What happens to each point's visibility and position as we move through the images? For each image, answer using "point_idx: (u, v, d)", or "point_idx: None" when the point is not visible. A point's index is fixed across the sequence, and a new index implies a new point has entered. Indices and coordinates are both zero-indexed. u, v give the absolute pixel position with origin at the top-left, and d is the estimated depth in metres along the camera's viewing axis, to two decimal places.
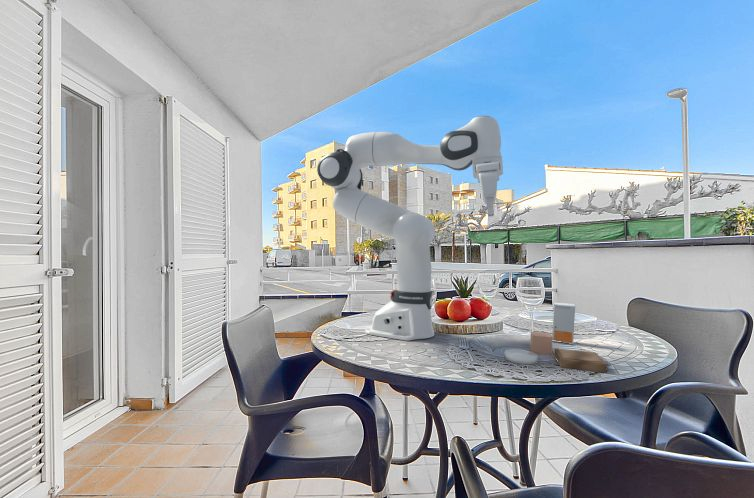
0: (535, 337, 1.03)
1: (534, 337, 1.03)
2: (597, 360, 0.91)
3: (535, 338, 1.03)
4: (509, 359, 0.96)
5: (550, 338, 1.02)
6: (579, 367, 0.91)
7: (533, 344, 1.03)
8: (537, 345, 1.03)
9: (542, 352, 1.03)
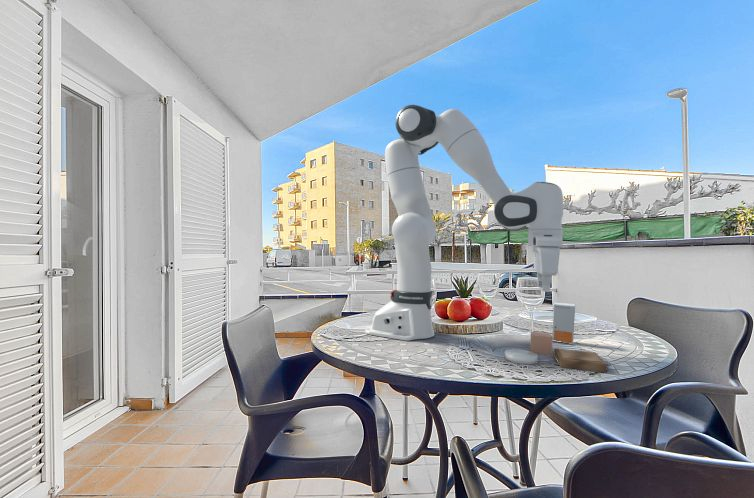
0: (535, 337, 1.03)
1: (534, 337, 1.03)
2: (597, 360, 0.91)
3: (535, 338, 1.03)
4: (509, 359, 0.96)
5: (550, 338, 1.02)
6: (579, 367, 0.91)
7: (533, 344, 1.03)
8: (537, 345, 1.03)
9: (542, 352, 1.03)
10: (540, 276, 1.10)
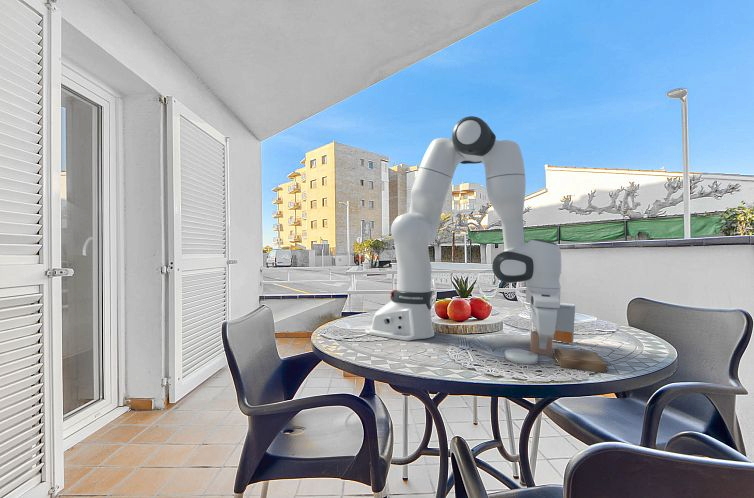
0: (535, 337, 1.03)
1: (534, 337, 1.03)
2: (597, 360, 0.91)
3: (535, 338, 1.03)
4: (509, 359, 0.96)
5: (550, 338, 1.02)
6: (579, 367, 0.91)
7: (533, 344, 1.03)
8: (537, 345, 1.03)
9: (542, 352, 1.03)
10: None
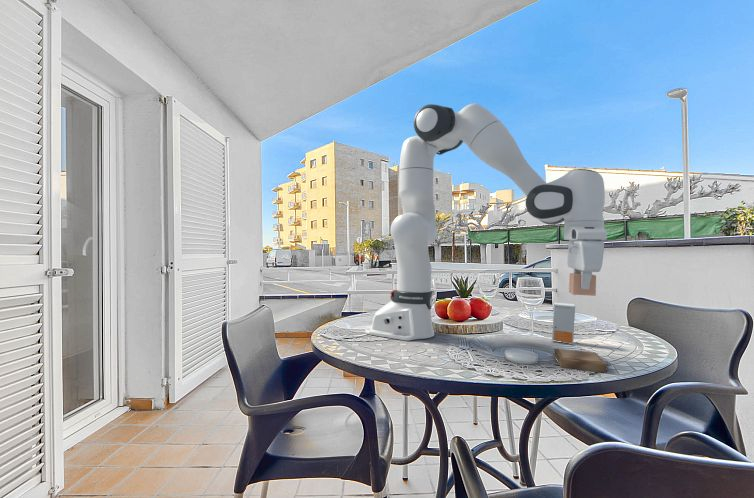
0: (576, 276, 0.93)
1: (575, 276, 0.93)
2: (597, 360, 0.91)
3: (576, 277, 0.93)
4: (509, 359, 0.96)
5: (593, 277, 0.92)
6: (579, 367, 0.91)
7: (574, 284, 0.93)
8: (578, 285, 0.93)
9: (584, 293, 0.92)
10: (577, 273, 0.99)
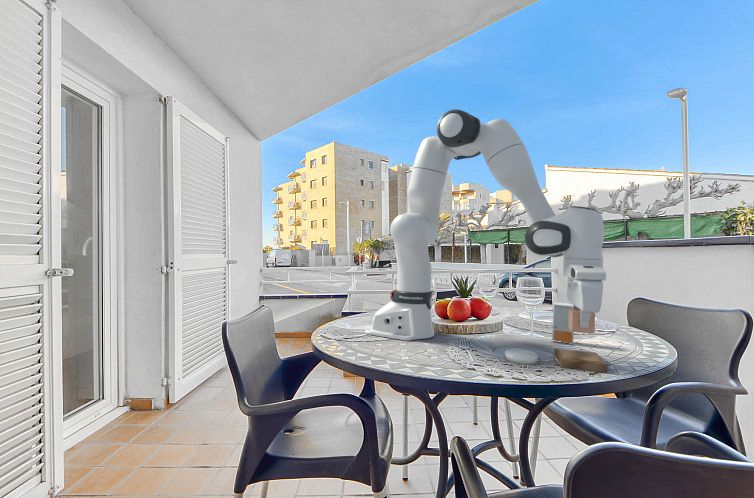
0: (575, 314, 0.93)
1: (574, 314, 0.93)
2: (597, 360, 0.91)
3: (575, 315, 0.93)
4: (509, 359, 0.96)
5: (592, 314, 0.92)
6: (579, 367, 0.91)
7: (573, 322, 0.93)
8: (577, 322, 0.93)
9: (583, 330, 0.92)
10: None
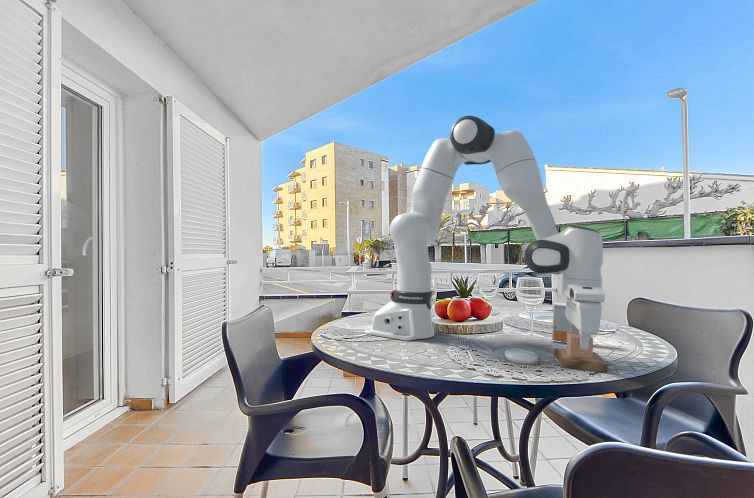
0: (573, 339, 0.93)
1: (572, 339, 0.93)
2: (597, 360, 0.91)
3: (573, 340, 0.93)
4: (509, 359, 0.96)
5: (590, 340, 0.92)
6: (579, 367, 0.91)
7: (571, 346, 0.93)
8: (575, 347, 0.93)
9: (581, 355, 0.93)
10: (573, 326, 1.00)
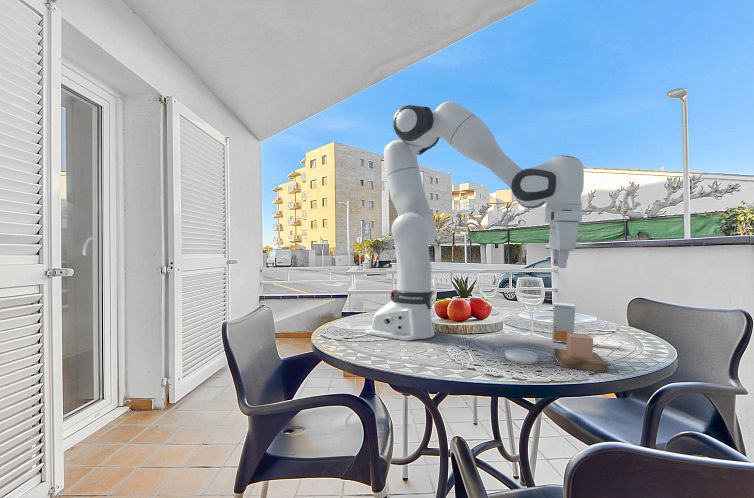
0: (573, 339, 0.93)
1: (572, 339, 0.93)
2: (597, 360, 0.91)
3: (573, 340, 0.93)
4: (509, 359, 0.96)
5: (590, 340, 0.92)
6: (579, 367, 0.91)
7: (571, 346, 0.93)
8: (575, 347, 0.93)
9: (581, 355, 0.93)
10: (555, 254, 1.07)
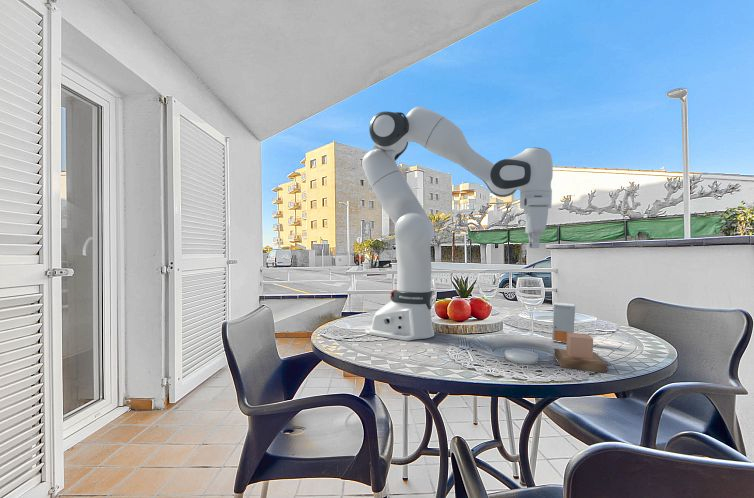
0: (573, 339, 0.93)
1: (572, 339, 0.93)
2: (597, 360, 0.91)
3: (573, 340, 0.93)
4: (509, 359, 0.96)
5: (590, 340, 0.92)
6: (579, 367, 0.91)
7: (571, 346, 0.93)
8: (575, 347, 0.93)
9: (581, 355, 0.93)
10: (531, 238, 1.18)
